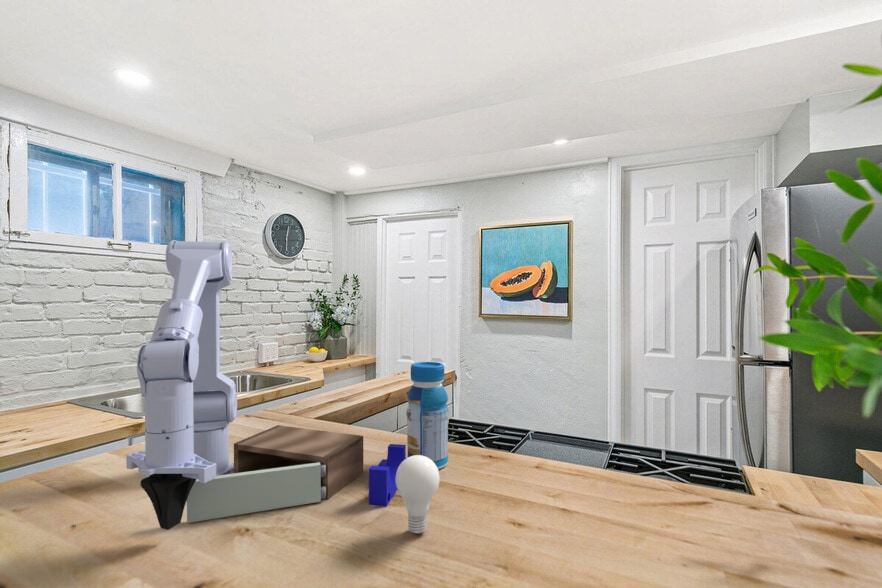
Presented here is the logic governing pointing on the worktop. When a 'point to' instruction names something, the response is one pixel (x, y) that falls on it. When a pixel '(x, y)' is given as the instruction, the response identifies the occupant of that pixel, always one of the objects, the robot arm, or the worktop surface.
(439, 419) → the beverage bottle
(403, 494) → the lightbulb
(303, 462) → the cabinet
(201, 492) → the cabinet door
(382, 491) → the cable clip
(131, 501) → the worktop surface
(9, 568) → the worktop surface
